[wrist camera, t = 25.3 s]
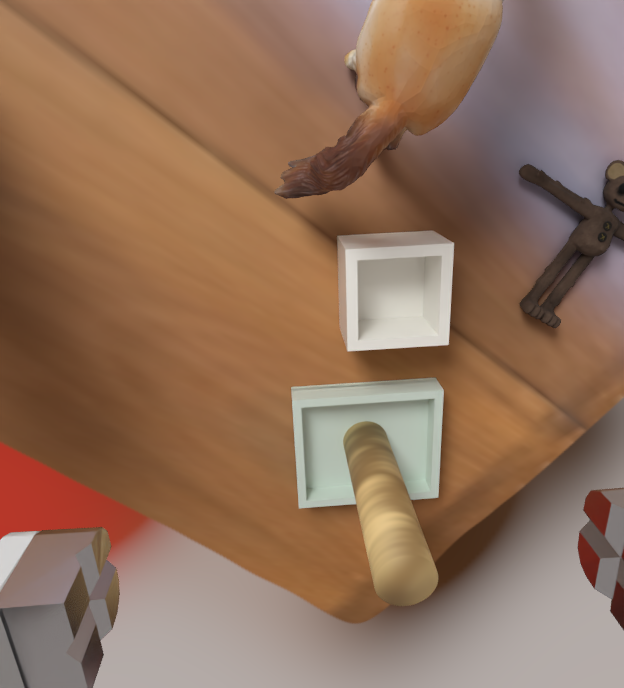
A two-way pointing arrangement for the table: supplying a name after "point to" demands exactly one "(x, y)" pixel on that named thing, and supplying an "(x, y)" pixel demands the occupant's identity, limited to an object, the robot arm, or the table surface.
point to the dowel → (388, 519)
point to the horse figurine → (401, 83)
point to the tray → (358, 406)
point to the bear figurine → (576, 237)
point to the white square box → (394, 289)
